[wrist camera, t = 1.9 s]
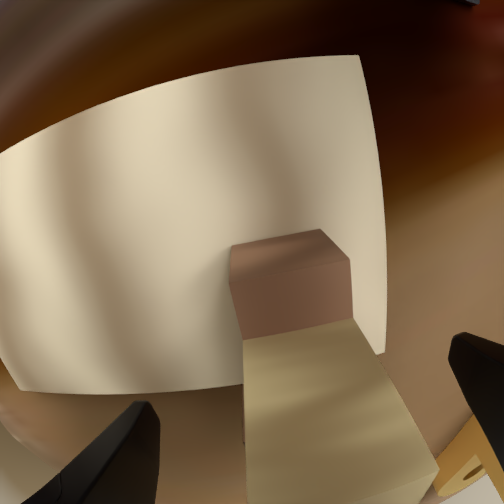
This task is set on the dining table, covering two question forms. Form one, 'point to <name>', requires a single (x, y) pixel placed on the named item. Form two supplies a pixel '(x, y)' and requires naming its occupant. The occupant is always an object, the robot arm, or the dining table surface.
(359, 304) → the board
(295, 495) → the stacked cube assembly
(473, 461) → the clamp
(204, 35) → the dining table surface
